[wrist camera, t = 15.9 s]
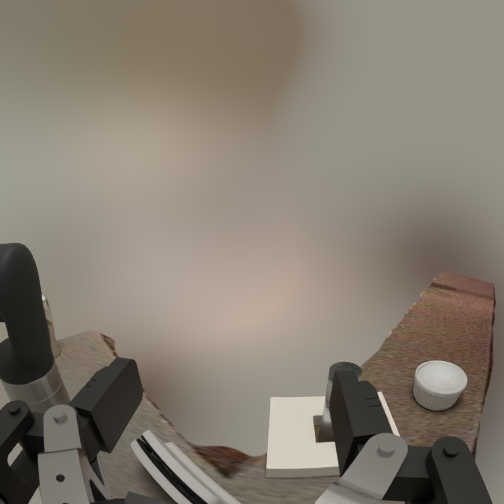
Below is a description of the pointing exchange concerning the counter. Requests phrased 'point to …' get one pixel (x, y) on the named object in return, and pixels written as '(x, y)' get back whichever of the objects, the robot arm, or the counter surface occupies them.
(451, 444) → the robot arm
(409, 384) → the counter surface
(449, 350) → the counter surface
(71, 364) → the counter surface
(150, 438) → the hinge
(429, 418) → the counter surface
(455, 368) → the ramekin
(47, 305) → the beer glass
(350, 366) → the grey capped tube
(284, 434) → the hole plate
